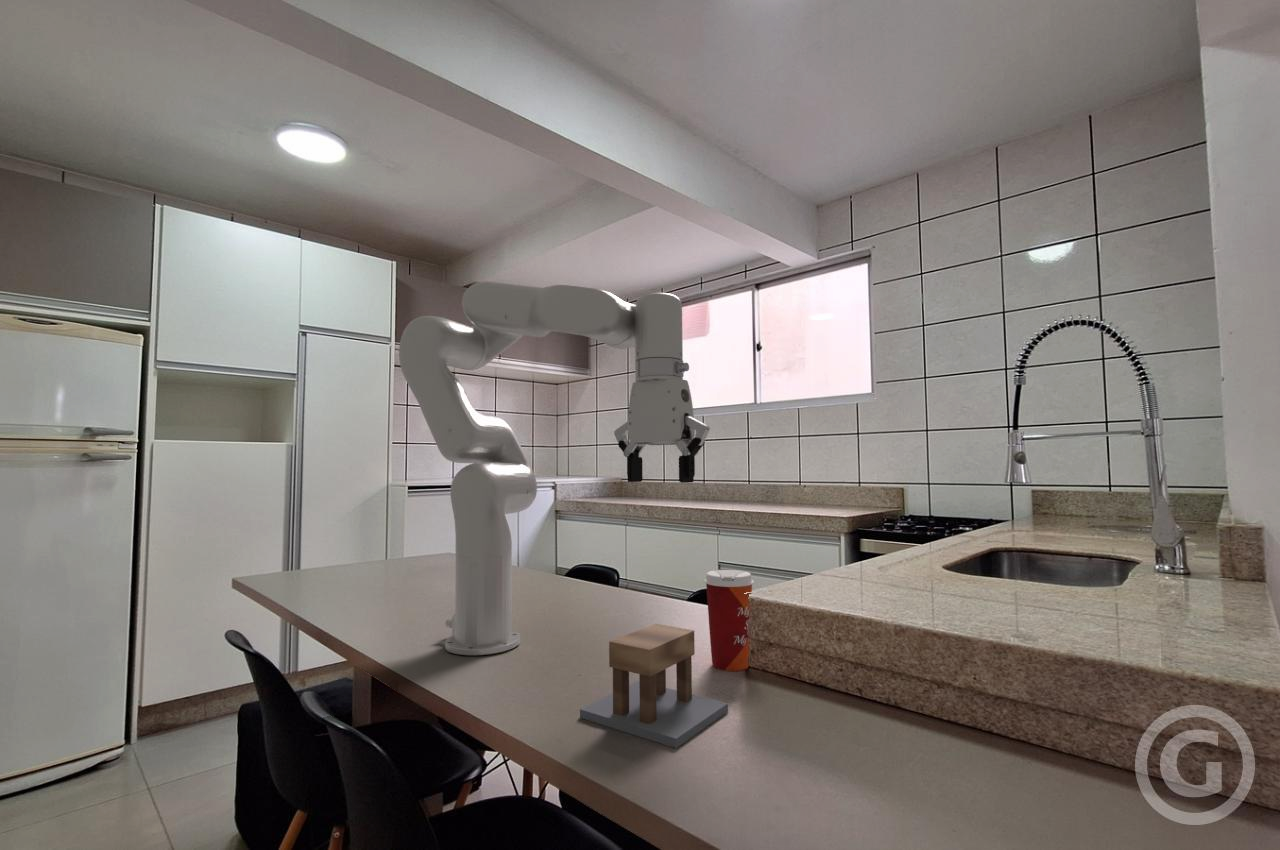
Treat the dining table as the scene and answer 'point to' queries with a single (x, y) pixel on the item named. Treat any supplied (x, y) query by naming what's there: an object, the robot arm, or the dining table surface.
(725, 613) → the paper cup
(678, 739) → the mat
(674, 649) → the footstool
